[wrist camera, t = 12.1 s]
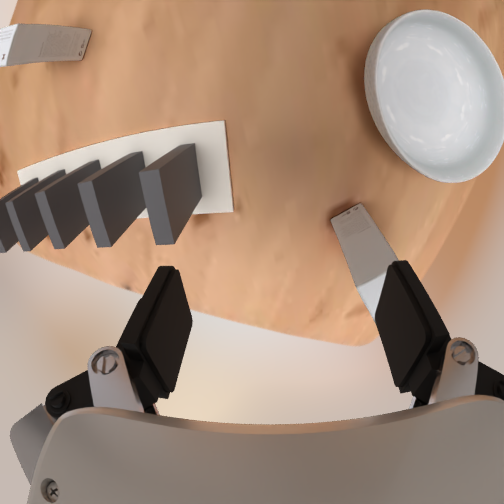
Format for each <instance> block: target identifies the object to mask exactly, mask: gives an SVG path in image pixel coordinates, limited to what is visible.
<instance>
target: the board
mask: <svg viewBox="0 0 504 504" xmlns="http://www.w3.org/2000/svg"><path fill="white" fill-rule="evenodd" d="M191 143H195V149H196V156H197V164H198V171H199V178H200V185H201V192H202V198H201V200H200V201H199V203H198V205H197V206H196V208H195V210H194V211H193V213H192V214H205V213H224V212H233V211H234V206H233V197H232V187H231V177H230V168H229V158H228V148H227V137H226V127H225V120H221V121H212V122H204V123H196V124H188V125H182V126H175V127H169V128H163V129H158V130H152V131H147V132H142V133H138V134H133V135H128V136H124V137H120V138H116V139H112V140H108V141H104V142H100V143H96V144H93V145H89V146H86V147H82V148H79V149H76V150H73V151H69V152H66V153H63V154H60V155H57V156H54V157H52V158H49V159H46V160H43V161H41V162H38V163H35V164H33V165H30V166H28V167H25V168H23V169H20V170H18V171H17V172H18V176H19V180H20V184H21V185H23V184H24V183H26V182H28V181H29V180H31V179H34V178H37V177H38V180H39V181H41V180H42V179H44V178H46V177H47V176H49V175H51V174H53V173H55V172H56V171H59V170H63V169H65V172H66V174H68V173H70V172H71V171H73V170H75V169H77V168H79V167H80V166H82V165H84V164H86V163H88V162H91V161H94V160H98V159H99V161H100V166H101V169H102V168H104V167H106V166H108V165H109V164H111V163H113V162H115V161H117V160H118V159H120V158H122V157H124V156H126V155H128V154H130V153H134V152H139V151H143V157H144V162H145V167H147V166H148V165H150V164H151V163H153V162H154V161H156V160H157V159H159V158H160V157H162V156H163V155H165V154H166V153H168V152H170V151H171V150H173V149H174V148H176V147H178V146H179V145H183V144H191ZM148 217H149V216H148V212H147V208H146V209H145V210H144V211H143V212H142V213H141V214H140V215H139V216H138V217H137V218H148Z"/></svg>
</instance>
